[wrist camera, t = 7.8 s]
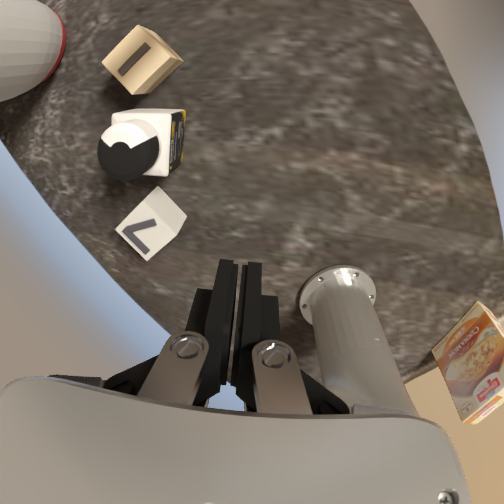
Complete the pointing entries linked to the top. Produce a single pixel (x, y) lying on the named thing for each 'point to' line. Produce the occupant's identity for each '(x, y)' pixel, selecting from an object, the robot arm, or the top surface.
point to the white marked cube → (152, 224)
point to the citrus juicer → (28, 45)
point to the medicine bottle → (142, 143)
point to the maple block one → (141, 61)
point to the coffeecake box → (473, 363)
